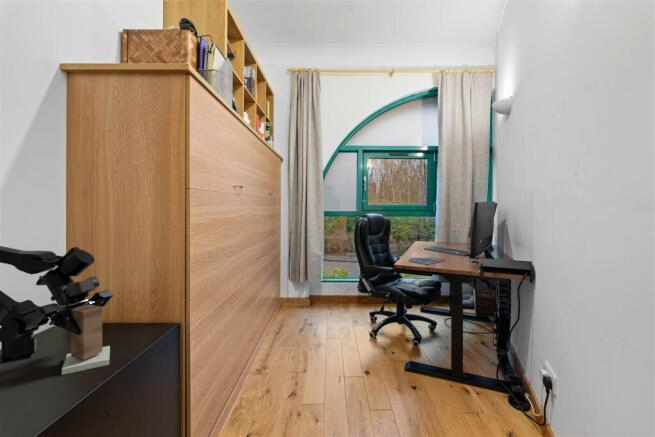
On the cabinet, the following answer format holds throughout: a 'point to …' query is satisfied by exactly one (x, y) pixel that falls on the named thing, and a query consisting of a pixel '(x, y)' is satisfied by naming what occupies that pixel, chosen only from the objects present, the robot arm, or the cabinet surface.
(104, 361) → the sage board
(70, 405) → the cabinet surface
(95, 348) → the walnut block
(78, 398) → the cabinet surface
